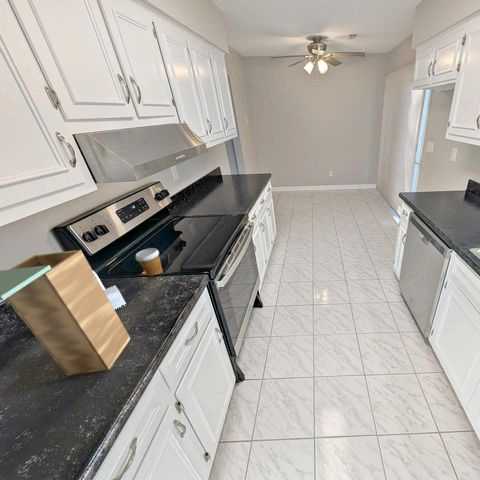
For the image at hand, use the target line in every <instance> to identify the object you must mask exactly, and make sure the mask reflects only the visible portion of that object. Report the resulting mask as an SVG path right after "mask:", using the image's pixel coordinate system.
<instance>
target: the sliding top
mask: <svg viewBox="0 0 480 480" xmlns="http://www.w3.org/2000/svg"><path fill="white" fill-rule="evenodd" d="M10 269H11V268H10ZM50 269H51V267H50V265H46V266H37V267H29V268H20V269H11V270H9V269H4V270H0V301H5V300H6V298H8V297H9V296H11V295H12V294H14V293H15V292H17V291H18V290H20V289H21V288H23V287H24V286H26V285H27V284H29V283H30V282H32V281H33V280H35V279H36V278H38V277H39V276H41V275H42V274H44V273H45V272H47V271H48V270H50Z"/></svg>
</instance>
